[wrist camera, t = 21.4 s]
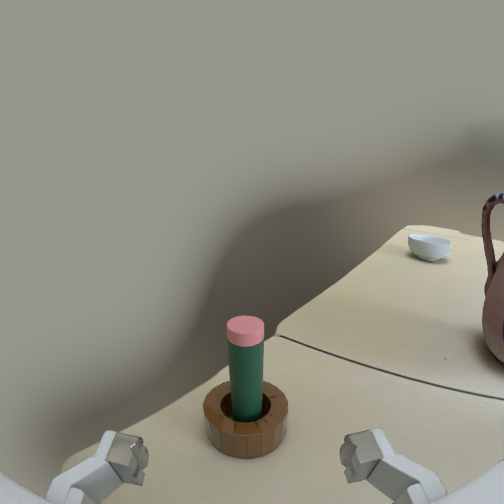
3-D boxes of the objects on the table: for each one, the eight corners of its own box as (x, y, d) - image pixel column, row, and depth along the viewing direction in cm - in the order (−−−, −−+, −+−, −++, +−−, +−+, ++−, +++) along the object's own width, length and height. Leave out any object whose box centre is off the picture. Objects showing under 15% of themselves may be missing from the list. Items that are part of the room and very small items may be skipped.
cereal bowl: (457, 265, 73) (460, 244, 72) (417, 264, 76) (420, 242, 74) (435, 252, 90) (437, 234, 88) (399, 251, 92) (401, 232, 90)
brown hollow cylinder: (229, 469, 19) (225, 447, 18) (196, 417, 25) (191, 392, 24) (300, 437, 22) (305, 413, 21) (259, 395, 29) (260, 370, 28)
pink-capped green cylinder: (241, 441, 22) (237, 337, 19) (228, 423, 24) (220, 320, 21) (266, 431, 23) (271, 327, 20) (252, 414, 25) (252, 312, 22)
